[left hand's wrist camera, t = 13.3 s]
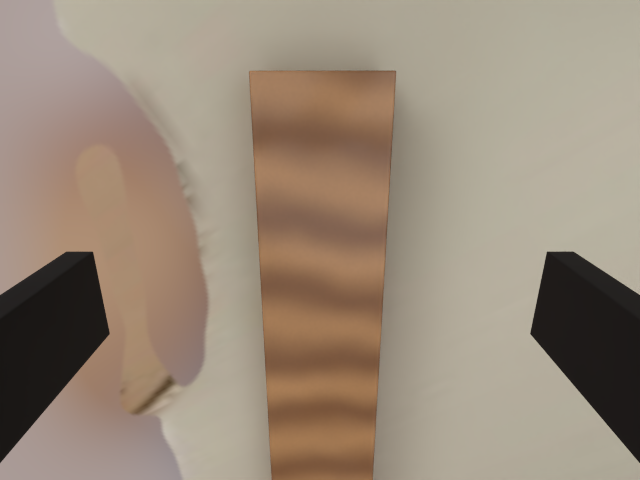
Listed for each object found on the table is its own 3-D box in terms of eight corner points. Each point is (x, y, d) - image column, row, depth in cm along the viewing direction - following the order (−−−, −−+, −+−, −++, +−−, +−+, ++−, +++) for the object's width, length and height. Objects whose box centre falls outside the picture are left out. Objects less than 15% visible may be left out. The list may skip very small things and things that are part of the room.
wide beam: (262, 73, 33) (248, 70, 27) (382, 73, 33) (396, 70, 27) (286, 611, 56) (282, 675, 50) (356, 611, 56) (361, 675, 50)
